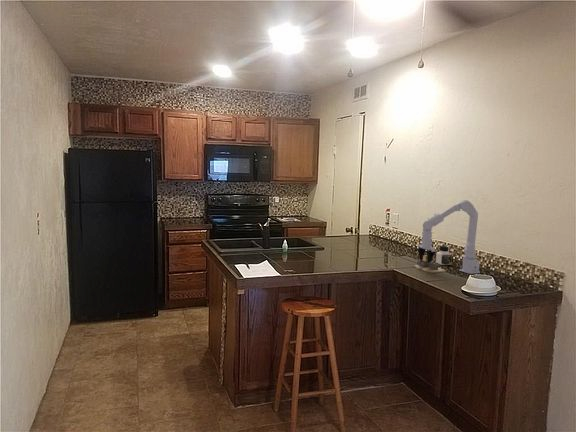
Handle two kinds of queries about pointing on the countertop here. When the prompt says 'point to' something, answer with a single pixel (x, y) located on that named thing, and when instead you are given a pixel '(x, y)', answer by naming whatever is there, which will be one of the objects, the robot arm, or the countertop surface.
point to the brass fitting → (425, 258)
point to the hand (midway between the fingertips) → (425, 260)
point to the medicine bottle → (443, 256)
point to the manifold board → (428, 267)
